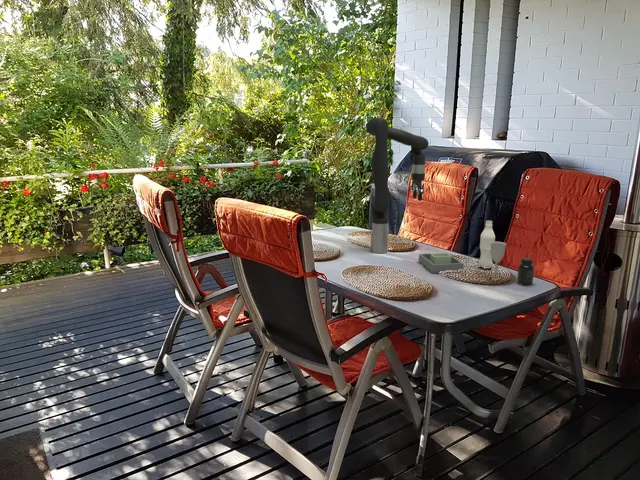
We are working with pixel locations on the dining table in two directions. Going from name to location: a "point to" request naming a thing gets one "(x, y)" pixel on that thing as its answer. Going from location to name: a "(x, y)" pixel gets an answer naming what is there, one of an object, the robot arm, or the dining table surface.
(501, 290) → the dining table surface
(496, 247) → the chalice
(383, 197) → the robot arm
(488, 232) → the water bottle
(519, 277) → the supplement bottle
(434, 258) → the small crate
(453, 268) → the grey tray
